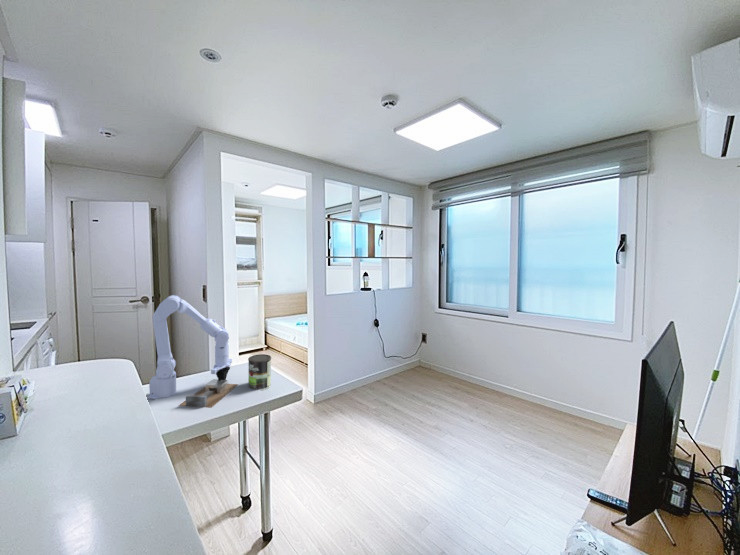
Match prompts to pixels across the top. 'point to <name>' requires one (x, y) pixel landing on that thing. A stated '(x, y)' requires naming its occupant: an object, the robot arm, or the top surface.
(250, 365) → the coffee can
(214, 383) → the block
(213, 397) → the slide rail board
